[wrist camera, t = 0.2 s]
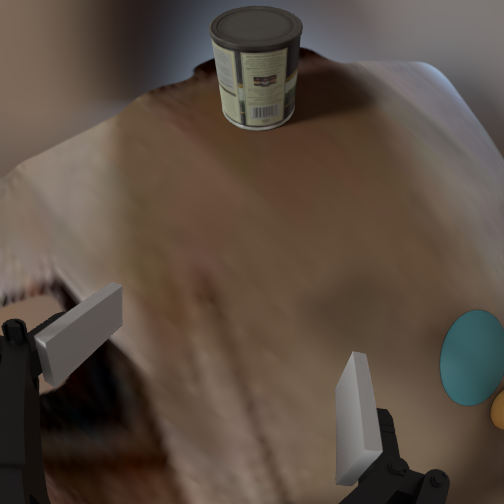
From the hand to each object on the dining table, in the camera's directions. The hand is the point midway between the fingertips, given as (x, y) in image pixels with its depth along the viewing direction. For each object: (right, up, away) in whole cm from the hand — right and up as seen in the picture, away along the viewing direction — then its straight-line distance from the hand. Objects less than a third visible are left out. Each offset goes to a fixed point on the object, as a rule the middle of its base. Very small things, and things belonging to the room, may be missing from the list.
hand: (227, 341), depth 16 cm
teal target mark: (+29, -8, +13) cm, 32 cm away
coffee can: (+2, +25, +25) cm, 35 cm away
